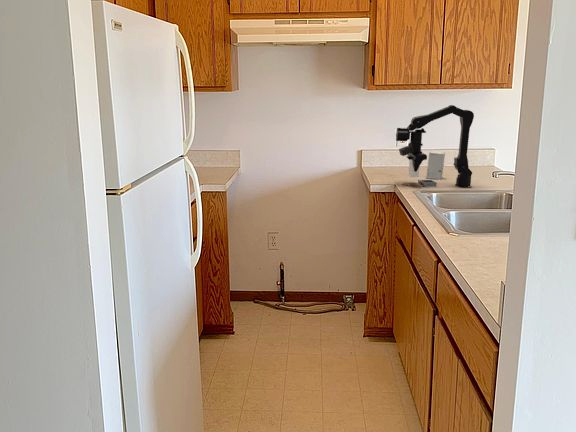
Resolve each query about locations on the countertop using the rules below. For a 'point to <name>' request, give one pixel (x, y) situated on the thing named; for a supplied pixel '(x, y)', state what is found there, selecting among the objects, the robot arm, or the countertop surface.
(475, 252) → the countertop surface
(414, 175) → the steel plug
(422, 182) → the square metal frame
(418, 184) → the walnut pad
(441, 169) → the skincare box
